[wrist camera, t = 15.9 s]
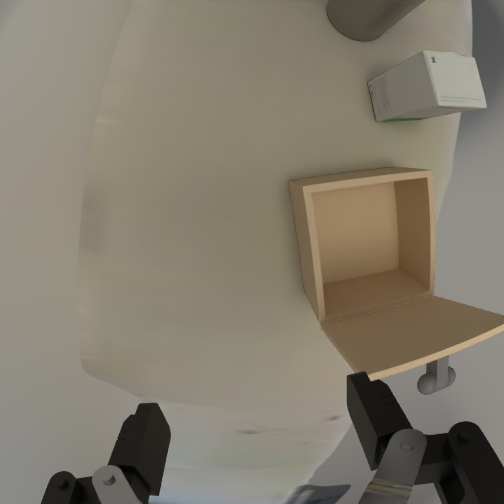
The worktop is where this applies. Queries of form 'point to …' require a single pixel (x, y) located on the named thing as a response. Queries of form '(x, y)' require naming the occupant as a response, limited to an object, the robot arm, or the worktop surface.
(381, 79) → the skincare box
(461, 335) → the lid flap
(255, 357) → the worktop surface
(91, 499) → the robot arm
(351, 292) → the carton
